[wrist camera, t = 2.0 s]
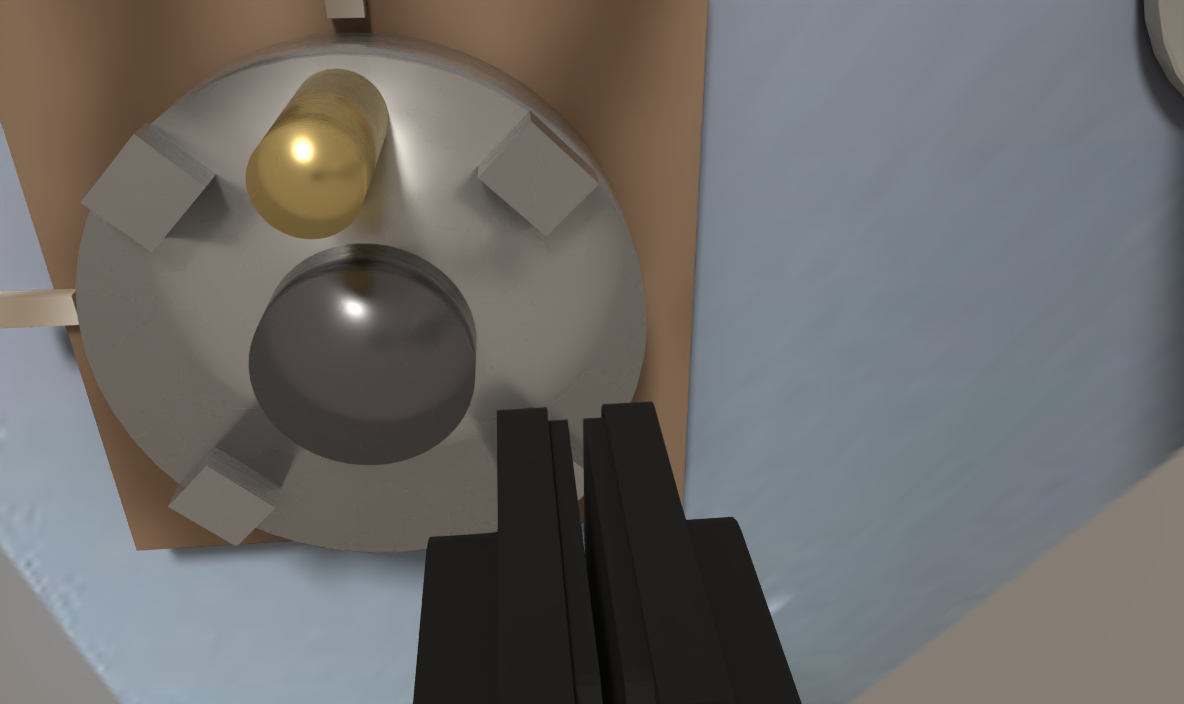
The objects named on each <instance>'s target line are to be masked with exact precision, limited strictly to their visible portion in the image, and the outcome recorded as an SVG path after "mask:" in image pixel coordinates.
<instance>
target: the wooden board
mask: <svg viewBox="0 0 1184 704" xmlns="http://www.w3.org/2000/svg"><path fill="white" fill-rule="evenodd" d="M707 10H708V0H0V120H1V124H2V127H3V130H4V133H5V136H6V139H7V143H8V146H9V149H10V152H11V155H12V158H13V161H14V165H15V168H16V171H17V174H18V177H19V180H20V184H21V187H22V190H23V193H24V196H25V199H26V202H27V206H28V209H29V212H30V215H31V218H32V221H33V225H34V228H35V231H36V234H37V237H38V240H39V243H40V247H41V250H42V253H43V256H44V259H45V262H46V266H47V269H48V272H49V275H50V278H51V281H52V284H53V288H54V290H34V291H11V292H0V328H20V327H42V326H64V325H66V329H67V332H68V335H69V338H70V341H71V344H72V348H73V351H74V354H75V357H76V360H77V363H78V366H79V370H80V373H81V376H82V379H83V382H84V385H85V389H86V392H87V395H88V398H89V401H90V404H91V407H92V411H93V414H94V417H95V420H96V423H97V426H98V430H99V433H100V436H101V439H102V442H103V445H104V448H105V452H106V455H107V458H108V461H109V464H110V467H111V471H112V474H113V477H114V480H115V483H116V486H117V489H118V493H119V496H120V499H121V502H122V505H123V508H124V511H125V515H126V518H127V521H128V524H129V527H130V530H131V534H132V537H133V540H134V543H135V546H136V549H137V551H138V550H154V549H170V548H186V547H202V546H219V545H233V544H231V543H229V542H228V541H226V540H224V539H223V538H221V537H219V536H217V535H216V534H214V533H212V532H211V531H209V530H207V529H205V528H204V527H202V526H200V525H199V524H197V523H195V522H193V521H192V520H190V519H188V518H186V517H185V516H183V515H181V514H180V513H178V512H176V511H174V510H173V509H171V508H169V507H168V505H169V503H170V501H171V499H172V497H173V495H174V493H175V491H176V488H177V486H178V485H179V483H177V482H176V481H175V480H174V479H173V478H171V477H170V476H169V475H168V474H167V473H165V472H164V471H163V470H162V469H161V468H159V467H158V466H157V465H156V464H155V463H154V462H153V461H152V460H151V458H150V457H149V456H148V455H147V454H146V453H145V452H144V451H143V450H142V449H141V448H140V447H139V446H138V445H137V444H136V443H135V442H134V440H133V439H132V438H131V436H130V435H129V434H128V432H127V431H126V429H125V428H124V427H123V425H122V424H121V423H120V421H119V420H118V419H117V417H116V416H115V415H114V413H113V411H112V409H111V408H110V406H109V404H108V402H107V400H106V399H105V397H104V395H103V393H102V391H101V390H100V388H99V386H98V384H97V381H96V379H95V376H94V374H93V371H92V369H91V366H90V364H89V361H88V358H87V356H86V353H85V349H84V345H83V340H82V336H81V332H80V327H79V323H78V315H77V302H76V289H75V284H76V272H77V260H78V251H79V247H80V243H81V239H82V235H83V231H84V227H85V223H86V219H87V217H88V215H89V212H90V209H89V208H87V207H86V206H84V205H83V204H81V201H82V200H83V199H84V197H85V196H86V195H87V194H88V192H89V191H90V190H91V188H92V187H93V186H94V185H95V183H96V182H97V181H98V179H99V178H100V177H101V176H102V174H103V173H104V172H105V170H106V169H107V168H108V166H109V165H110V164H111V163H112V161H113V160H114V159H115V157H116V156H117V155H118V154H119V152H120V151H121V150H122V148H123V147H124V146H125V144H126V143H127V142H128V141H129V139H130V138H131V137H132V135H133V134H134V133H135V132H136V131H138V130H139V129H140V128H141V127H142V126H143V125H144V124H145V123H149V124H151V123H152V122H154V121H155V120H156V119H157V118H158V117H159V116H160V115H161V114H162V113H164V112H165V111H166V110H167V109H168V108H169V107H170V106H171V105H172V104H174V103H175V102H176V101H177V100H178V99H179V98H180V97H181V96H183V95H184V94H185V93H186V92H188V91H189V90H190V89H191V88H193V87H194V86H195V85H197V84H198V83H199V82H200V81H202V80H203V79H204V78H205V77H207V76H208V75H210V74H211V73H213V72H215V71H217V70H218V69H220V68H222V67H224V66H225V65H227V64H229V63H231V62H232V61H234V60H236V59H238V58H239V57H242V56H244V55H247V54H250V53H252V52H255V51H257V50H260V49H262V48H265V47H268V46H270V45H273V44H276V43H280V42H285V41H289V40H293V39H297V38H302V37H306V36H310V35H320V34H331V33H342V32H365V33H388V34H394V35H400V36H405V37H411V38H417V39H423V40H427V41H431V42H434V43H437V44H440V45H443V46H447V47H450V48H453V49H456V50H459V51H463V52H465V53H467V54H469V55H471V56H474V57H476V58H478V59H480V60H482V61H485V62H487V63H489V64H491V65H493V66H495V67H498V68H499V69H501V70H502V71H504V72H506V73H507V74H509V75H510V76H512V77H514V78H515V79H517V80H518V81H520V82H522V83H523V84H525V85H526V86H528V87H529V88H531V89H532V90H533V91H534V92H536V93H537V94H538V95H539V96H540V97H542V98H543V99H544V100H545V101H546V102H548V103H549V104H550V105H551V106H553V107H554V108H555V109H556V110H557V111H558V112H559V113H560V114H561V115H562V116H563V117H564V118H565V119H566V120H567V121H568V122H569V124H570V125H571V126H572V127H573V128H574V129H575V130H576V131H577V132H578V133H579V134H580V135H581V137H582V138H583V139H584V141H585V142H586V144H587V145H588V146H589V148H590V149H591V151H592V152H593V153H594V155H595V156H596V158H597V159H598V161H599V162H600V163H601V165H602V167H603V169H604V171H605V173H606V175H607V177H608V179H609V180H610V182H611V184H612V186H613V188H614V190H615V192H616V194H617V197H618V200H619V203H620V206H621V208H622V211H623V214H624V217H625V220H626V222H627V226H628V229H629V232H630V235H631V238H632V242H633V245H634V248H635V251H636V254H637V258H638V261H639V265H640V270H641V275H642V280H643V285H644V290H645V295H646V315H647V333H646V343H645V353H644V360H643V364H642V368H641V372H640V376H639V380H638V384H637V388H636V390H635V393H634V395H633V398H632V400H631V402H648V401H652V402H653V404H654V406H655V410H656V413H657V417H658V420H659V424H660V428H661V431H662V435H663V439H664V442H665V446H666V450H667V453H668V457H669V460H670V464H671V468H672V471H673V475H674V479H675V482H676V486H677V490H678V493H679V497H680V500H681V504H682V508H683V492H684V472H685V452H686V432H687V412H688V392H689V372H690V352H691V331H692V311H693V291H694V271H695V251H696V231H697V211H698V191H699V171H700V151H701V131H702V111H703V90H704V70H705V50H706V30H707ZM578 505H579V513H580V521H581V523H584V496H583V497H582V498H580V499H579V500H578ZM283 541H293V540H290V539H286V538H283V537H280V536H276V535H273V534H270V533H268V532H265V531H263V530H260V529H258V528H255V529H254V530H253V531H252V532H251V533H250V534H249V535H248V536H247V537H246V538H245V539H244V540H243V541H242V542H241V543H240V544H251V543H267V542H283Z"/></svg>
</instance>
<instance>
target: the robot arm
mask: <svg viewBox="0 0 1184 704" xmlns="http://www.w3.org/2000/svg"><path fill="white" fill-rule="evenodd" d="M1144 12H1145V22H1146V26H1147V30H1148V33H1149V37H1150V41H1151V45H1152V49H1153V52H1154V55H1155V56H1156V58H1157V60H1158V62H1159V64H1160V66H1161V67H1162V69H1163V71H1164V73H1165V75H1166V77H1167V79H1168V80H1169V82H1170V83H1171V84H1172V85H1173V86H1174V87H1175V88H1176V89H1177V90H1178V91H1179V92H1180V93H1181V94H1182V95H1183V97H1184V0H1144ZM583 469H584V536H585V553H584V545H583V537H582V529H581V521H580V513H579V505H578V497H577V489H576V481H575V473H574V465H573V457H572V450H571V442H570V434H569V426H568V420H567V419H566V420H548V412H547V407H542V408H524V409H506V410H497V502H498V532H496V533H481V534H466V535H450V536H435V537H429V540H428V544H427V551H426V562H425V573H424V585H423V596H422V608H421V619H420V630H419V642H418V653H417V665H416V676H415V687H414V699H413V704H802V703H801V701H800V698H799V695H798V692H797V689H796V686H795V683H794V680H793V678H792V675H791V672H790V669H789V666H788V663H787V660H786V657H785V655H784V652H783V649H782V646H781V643H780V640H779V637H778V634H777V632H776V629H775V626H774V623H773V620H772V617H771V614H770V611H769V609H768V606H767V603H766V600H765V597H764V594H763V591H762V588H761V586H760V583H759V580H758V577H757V574H756V571H755V568H754V566H753V563H752V560H751V557H750V554H749V551H748V548H747V545H746V543H745V540H744V537H743V534H742V531H741V529H740V527H739V524H738V522H737V521H736V520H735V519H734V518H733V517H723V518H708V519H693V520H686V519H685V515H684V511H683V508H682V504H681V500H680V497H679V493H678V490H677V486H676V482H675V479H674V475H673V471H672V468H671V464H670V460H669V457H668V453H667V450H666V446H665V442H664V439H663V435H662V431H661V428H660V424H659V420H658V417H657V413H656V410H655V406H654V404H653V402H652V401H648V402H630V403H613V404H602V408H601V417H600V418H584V419H583Z"/></svg>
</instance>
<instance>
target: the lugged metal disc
mask: <svg viewBox="0 0 1184 704" xmlns="http://www.w3.org/2000/svg"><path fill="white" fill-rule="evenodd" d="M81 204H83V205H84V206H86V207H87V208H89V209H90V212H89V215H88V217H87V219H86V223H85V227H84V231H83V235H82V239H81V243H80V247H79V251H78V260H77V272H76V284H75V289H76V302H77V315H78V323H79V327H80V332H81V336H82V340H83V345H84V349H85V353H86V356H87V358H88V361H89V364H90V366H91V369H92V371H93V374H94V376H95V379H96V381H97V384H98V386H99V388H100V390H101V391H102V393H103V395H104V397H105V399H106V400H107V402H108V404H109V406H110V408H111V409H112V411H113V413H114V415H115V416H116V417H117V419H118V420H119V421H120V423H121V424H122V425H123V427H124V428H125V429H126V431H127V432H128V434H129V435H130V436H131V438H132V439H133V440H134V442H135V443H136V444H137V445H138V446H139V447H140V448H141V449H142V450H143V451H144V452H145V453H146V454H147V455H148V456H149V457H150V458H151V460H152V461H153V462H154V463H155V464H156V465H157V466H158V467H159V468H161V469H162V470H163V471H164V472H165V473H167V474H168V475H169V476H170V477H171V478H173V479H174V480H175V481H176V482H177V483H179V485H178V486H177V488H176V491H175V493H174V495H173V497H172V499H171V501H170V503H169V505H168V507H169V508H171V509H173V510H174V511H176V512H178V513H180V514H181V515H183V516H185V517H186V518H188V519H190V520H192V521H193V522H195V523H197V524H199V525H200V526H202V527H204V528H205V529H207V530H209V531H211V532H212V533H214V534H216V535H217V536H219V537H221V538H223V539H224V540H226V541H228V542H229V543H231V544H233V545H235V546H236V547H237V546H238V545H239V544H240V543H241V542H242V541H243V540H244V539H245V538H246V537H247V536H248V535H249V534H250V533H251V532H252V531H253V530H254V529H255V528H258V529H260V530H263V531H265V532H268V533H270V534H273V535H276V536H280V537H283V538H286V539H290V540H293V541H297V542H300V543H304V544H309V545H314V546H320V547H325V548H331V549H336V550H347V551H358V552H406V551H415V550H423V549H427V544H428V540H429V537H435V536H450V535H466V534H481V533H492V532H494V531H497V530H498V502H497V410H506V409H524V408H542V407H547V412H548V420H566V419H567V420H568V426H569V434H570V442H571V450H572V457H573V465H574V473H575V481H576V489H577V497H578V500H579V499H580V498H582V497H583V496H584V469H583V419H584V418H600V417H601V408H602V404H613V403H630V402H631V400H632V398H633V395H634V393H635V390H636V388H637V384H638V380H639V376H640V372H641V368H642V364H643V360H644V353H645V343H646V333H647V315H646V295H645V290H644V285H643V280H642V275H641V270H640V265H639V261H638V258H637V254H636V251H635V248H634V245H633V242H632V238H631V235H630V232H629V229H628V226H627V222H626V220H625V217H624V214H623V211H622V208H621V206H620V203H619V200H618V197H617V194H616V192H615V190H614V188H613V186H612V184H611V182H610V180H609V179H608V177H607V175H606V173H605V171H604V169H603V167H602V165H601V163H600V162H599V161H598V159H597V158H596V156H595V155H594V153H593V152H592V151H591V149H590V148H589V146H588V145H587V144H586V142H585V141H584V139H583V138H582V137H581V135H580V134H579V133H578V132H577V131H576V130H575V129H574V128H573V127H572V126H571V125H570V124H569V122H568V121H567V120H566V119H565V118H564V117H563V116H562V115H561V114H560V113H559V112H558V111H557V110H556V109H555V108H554V107H553V106H551V105H550V104H549V103H548V102H546V101H545V100H544V99H543V98H542V97H540V96H539V95H538V94H537V93H536V92H534V91H533V90H532V89H531V88H529V87H528V86H526V85H525V84H523V83H522V82H520V81H518V80H517V79H515V78H514V77H512V76H510V75H509V74H507V73H506V72H504V71H502V70H501V69H499V68H498V67H495V66H493V65H491V64H489V63H487V62H485V61H482V60H480V59H478V58H476V57H474V56H471V55H469V54H467V53H465V52H463V51H459V50H456V49H453V48H450V47H447V46H443V45H440V44H437V43H434V42H431V41H427V40H423V39H417V38H411V37H405V36H400V35H394V34H388V33H365V32H342V33H331V34H320V35H310V36H306V37H302V38H297V39H293V40H289V41H285V42H280V43H276V44H273V45H270V46H268V47H265V48H262V49H260V50H257V51H255V52H252V53H250V54H247V55H244V56H242V57H239V58H238V59H236V60H234V61H232V62H231V63H229V64H227V65H225V66H224V67H222V68H220V69H218V70H217V71H215V72H213V73H211V74H210V75H208V76H207V77H205V78H204V79H203V80H202V81H200V82H199V83H198V84H197V85H195V86H194V87H193V88H191V89H190V90H189V91H188V92H186V93H185V94H184V95H183V96H181V97H180V98H179V99H178V100H177V101H176V102H175V103H174V104H172V105H171V106H170V107H169V108H168V109H167V110H166V111H165V112H164V113H162V114H161V115H160V116H159V117H158V118H157V119H156V120H155V121H154V122H152V123H151V124H149V123H145V124H144V125H143V126H142V127H141V128H140V129H139V130H138V131H136V132H135V133H134V134H133V135H132V137H131V138H130V139H129V141H128V142H127V143H126V144H125V146H124V147H123V148H122V150H121V151H120V152H119V154H118V155H117V156H116V157H115V159H114V160H113V161H112V163H111V164H110V165H109V166H108V168H107V169H106V170H105V172H104V173H103V174H102V176H101V177H100V178H99V179H98V181H97V182H96V183H95V185H94V186H93V187H92V188H91V190H90V191H89V192H88V194H87V195H86V196H85V197H84V199H83V200H82V201H81Z"/></svg>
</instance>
